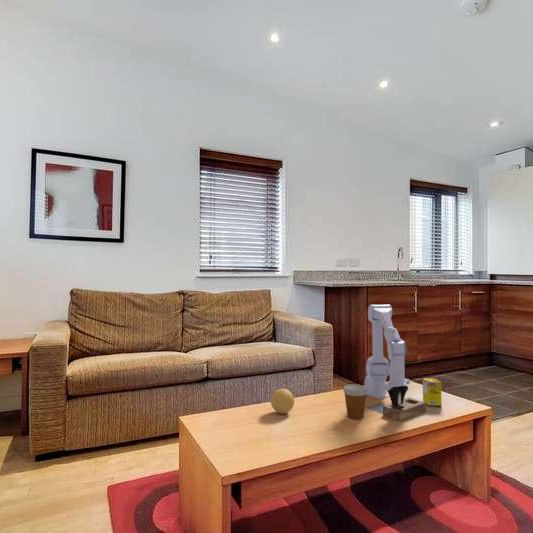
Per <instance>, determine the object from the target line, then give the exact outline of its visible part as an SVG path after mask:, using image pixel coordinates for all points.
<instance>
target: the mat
mask: <svg viewBox="0 0 533 533" xmlns="http://www.w3.org/2000/svg"><path fill="white" fill-rule="evenodd" d="M385 405H386V404H384V403H381V402H378V403H375V404H372V405H369V406H365V408H364V409H367V410H370V411H374V412H376V413H379V414H381V415H383V406H385Z"/></svg>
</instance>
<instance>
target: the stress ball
mask: <svg viewBox="0 0 533 533" xmlns="http://www.w3.org/2000/svg"><path fill="white" fill-rule="evenodd" d="M270 405H271V407H272V408H273V410H274V411H275V412H276V413H278V414H280V415H286V414H287V413H289V412H291V410H293V408H294V405H295V397H294V395H293V393H292V392H291V391H290V390H289V389H287V388H278V389H276V390H274V391H273V393H272V394H271V398H270Z"/></svg>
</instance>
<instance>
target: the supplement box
mask: <svg viewBox="0 0 533 533" xmlns="http://www.w3.org/2000/svg"><path fill="white" fill-rule="evenodd" d="M422 401H423V402H426V407H431V408H434V407H435V408H442V382H441V381H439V379H437V378H422Z"/></svg>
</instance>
